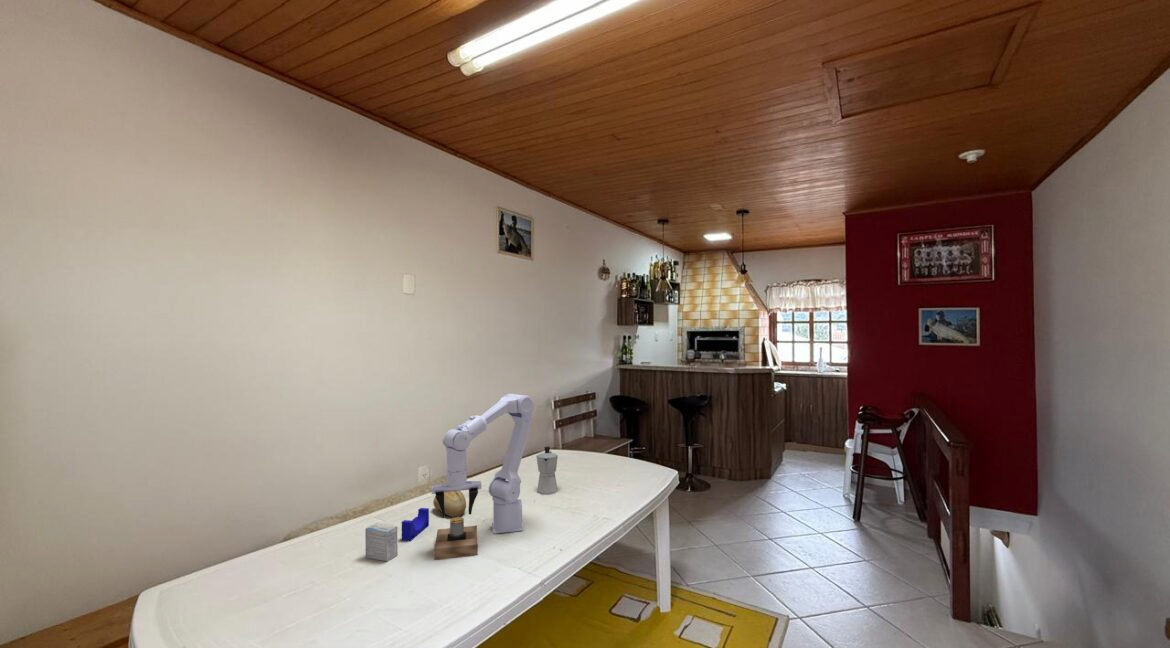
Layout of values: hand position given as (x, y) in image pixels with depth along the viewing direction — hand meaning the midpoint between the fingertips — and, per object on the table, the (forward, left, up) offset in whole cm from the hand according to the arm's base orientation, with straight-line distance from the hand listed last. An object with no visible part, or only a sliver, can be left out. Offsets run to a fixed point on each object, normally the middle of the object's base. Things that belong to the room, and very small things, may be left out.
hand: (456, 514), depth 142 cm
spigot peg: (0, 0, -10) cm, 10 cm away
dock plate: (0, 0, -10) cm, 10 cm away
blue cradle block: (+14, -14, -10) cm, 22 cm away
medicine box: (+21, +1, -10) cm, 23 cm away
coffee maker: (-35, -44, -10) cm, 57 cm away
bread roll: (+3, -30, -10) cm, 32 cm away
